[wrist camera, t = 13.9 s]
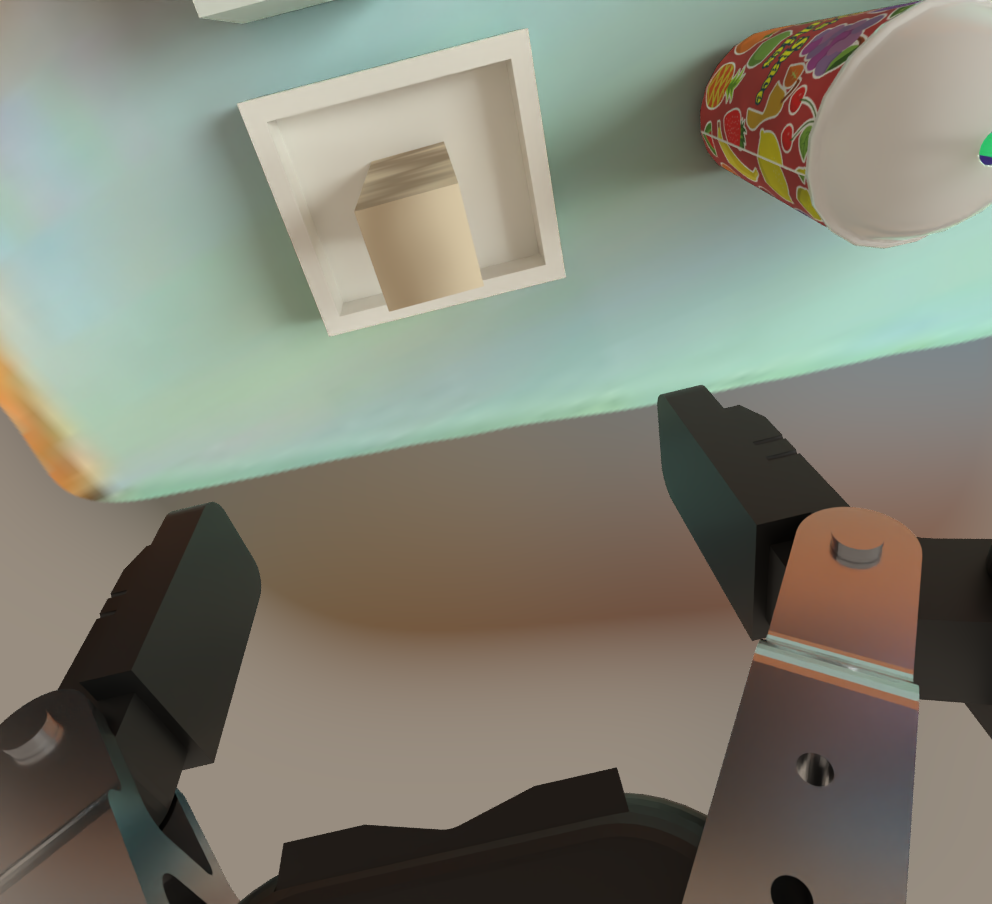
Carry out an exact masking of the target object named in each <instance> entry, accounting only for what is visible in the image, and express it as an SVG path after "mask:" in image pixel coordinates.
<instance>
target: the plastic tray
mask: <svg viewBox="0 0 992 904" xmlns="http://www.w3.org/2000/svg"><path fill="white" fill-rule="evenodd" d="M237 105H238V108H239V110H240V113H241V115H242V118H243V120H244V123H245V126H246V128H247V131H248V133H249V136H250V138H251V141H252V143H253V146H254V148H255V151H256V153H257V156H258V158H259V161H260V163H261V166H262V168H263V171H264V173H265V176H266V178H267V181H268V184H269V186H270V189H271V191H272V194H273V196H274V199H275V201H276V204H277V206H278V209H279V211H280V214H281V216H282V219H283V221H284V224H285V226H286V229H287V231H288V234H289V236H290V239H291V241H292V244H293V247H294V249H295V252H296V254H297V257H298V259H299V262H300V264H301V267H302V269H303V272H304V274H305V277H306V279H307V282H308V284H309V287H310V289H311V292H312V294H313V297H314V299H315V302H316V305H317V307H318V310H319V312H320V315H321V317H322V320H323V322H324V325H325V327H326V330H327V332H328V335H329V337H330V336H334V335H338V334H342V333H346V332H350V331H354V330H358V329H362V328H366V327H370V326H374V325H378V324H382V323H386V322H390V321H394V320H398V319H402V318H406V317H410V316H414V315H418V314H422V313H426V312H430V311H434V310H438V309H442V308H446V307H450V306H454V305H458V304H462V303H466V302H470V301H474V300H478V299H482V298H486V297H490V296H494V295H498V294H502V293H506V292H510V291H514V290H518V289H522V288H526V287H530V286H534V285H538V284H542V283H546V282H550V281H554V280H558V279H562V278H566V276H565V269H564V262H563V256H562V249H561V243H560V236H559V230H558V223H557V216H556V210H555V203H554V197H553V190H552V183H551V177H550V170H549V164H548V157H547V151H546V144H545V137H544V131H543V124H542V118H541V111H540V104H539V98H538V91H537V85H536V78H535V71H534V65H533V58H532V52H531V45H530V39H529V32H528V28H526V29H519V30H515V31H511V32H508V33H504V34H500V35H496V36H492V37H488V38H484V39H481V40H477V41H473V42H469V43H465V44H461V45H458V46H454V47H450V48H446V49H442V50H438V51H434V52H431V53H427V54H423V55H419V56H415V57H411V58H408V59H404V60H400V61H396V62H392V63H388V64H384V65H381V66H377V67H373V68H369V69H365V70H361V71H357V72H354V73H350V74H346V75H342V76H338V77H334V78H331V79H327V80H323V81H319V82H315V83H311V84H307V85H304V86H300V87H296V88H292V89H288V90H284V91H281V92H277V93H273V94H269V95H265V96H261V97H257V98H254V99H250V100H247V101H244V102H241V103H238V104H237ZM440 142H444V143H445V146H446V149H447V152H448V155H449V158H450V161H451V164H452V166H453V169H454V172H455V175H456V178H457V181H458V184H459V188H460V192H461V196H462V200H463V204H464V208H465V212H466V216H467V220H468V224H469V228H470V232H471V236H472V240H473V244H474V248H475V252H476V256H477V260H478V264H479V268H480V272H481V276H482V280H483V284H484V286H483V287H479V288H475V289H472V290H468V291H464V292H461V293H457V294H453V295H450V296H446V297H442V298H438V299H435V300H431V301H427V302H424V303H420V304H416V305H413V306H409V307H405V308H401V309H398V310H394V311H390V312H389V310H388V307H387V305H386V302H385V299H384V296H383V293H382V290H381V287H380V285H379V282H378V279H377V276H376V273H375V270H374V267H373V265H372V262H371V259H370V256H369V253H368V250H367V247H366V245H365V242H364V239H363V236H362V233H361V230H360V227H359V225H358V222H357V219H356V216H355V213H354V211H355V208H356V205H357V202H358V199H359V196H360V193H361V190H362V187H363V184H364V181H365V179H366V176H367V173H368V170H369V167H370V164H371V162H372V161H375V160H379V159H383V158H386V157H390V156H393V155H397V154H400V153H404V152H408V151H411V150H415V149H418V148H422V147H426V146H429V145H433V144H436V143H440Z"/></svg>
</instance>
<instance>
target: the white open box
mask: <svg viewBox="0 0 992 904" xmlns="http://www.w3.org/2000/svg"><path fill="white" fill-rule="evenodd" d="M192 1H193V3H194V6H195V8H196V11H197V13H198V16H199V18H203V19H211V20H218V21H226V22H233V23H240V24H246V23H249V22H253V21H257V20H261V19H265V18H268V17H272V16H276V15H280V14H284V13H287V12H291V11H295V10H299V9H303V8H306V7H310V6H314V5H318V4H322V3H325V2H329V1H333V0H192Z"/></svg>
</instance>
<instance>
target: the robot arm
mask: <svg viewBox="0 0 992 904" xmlns="http://www.w3.org/2000/svg"><path fill="white" fill-rule="evenodd" d="M657 407H658V420H659V421H658V422H659V436H660V449H661V464H662V471H663V476H664V480H665V484H666V487H667V490H668V493H669V495H670V497H671V499H672V501H673V503H674V505H675V506H676V508H677V510H678V512H679V513H680V515H681V517H682V519H683V521H684V522H685V524H686V526H687V528H688V529H689V531H690V533H691V535H692V536H693V538H694V540H695V542H696V543H697V545H698V547H699V549H700V550H701V552H702V554H703V556H704V557H705V559H706V561H707V563H708V564H709V566H710V568H711V570H712V571H713V573H714V575H715V577H716V579H717V580H718V582H719V584H720V586H721V587H722V589H723V591H724V593H725V594H726V596H727V598H728V600H729V601H730V603H731V605H732V607H733V608H734V610H735V612H736V614H737V615H738V617H739V619H740V621H741V622H742V624H743V626H744V628H745V629H746V631H747V633H748V635H749V636H750V638H751V640H752V641H754V640H757V639H761V640H760V641H759V643H758V645H757V648H756V651H755V653H754V657H753V660H752V663H751V667H750V670H749V674H748V677H747V681H746V684H745V688H744V691H743V695H742V698H741V702H740V705H739V708H738V712H737V715H736V719H735V722H734V726H733V729H732V732H731V736H730V740H729V743H728V746H727V750H726V753H725V757H724V760H723V764H722V767H721V770H720V774H719V777H718V781H717V784H716V788H715V791H714V795H713V798H712V802H711V805H710V808H709V812H708V815H705V814H703V813H701V812H699V811H697V810H694V809H692V808H690V807H688V806H686V805H683V804H680V803H677V802H674V801H670V800H668V799H665V798H660V797H654V796H649V795H644V794H634V793H624V791H623V788H622V784H621V780H620V777H619V773H618V770H617V768H612V769H608V770H603V771H599V772H595V773H590V774H586V775H582V776H577V777H573V778H568V779H564V780H560V781H556V782H551V783H546V784H542V785H537V786H534V787H532V788H530V789H528V790H526V791H524V792H522V793H520V794H519V795H517V796H515V797H513V798H511V799H509V800H507V801H505V802H503V803H501V804H499V805H498V806H496V807H494V808H492V809H490V810H488V811H486V812H484V813H482V814H481V815H479V816H477V817H475V818H473V819H471V820H469V821H467V822H465V823H463V824H462V825H460V826H457V827H455V828H452V829H447V830H438V829H421V828H407V827H391V826H390V827H389V826H376V825H362V826H357V827H353V828H348V829H344V830H340V831H335V832H331V833H326V834H322V835H317V836H314V837H309V838H305V839H300V840H296V841H291V842H287V843H284V844H283V850H282V857H281V863H280V869H279V875H277V876H276V877H274V878H272V879H270V880H269V881H267V882H266V883H264V884H263V885H262V886H260V887H258V888H257V889H255V890H254V891H252V892H251V893H250V894H249V895H247V896H246V897H245V898H244V899H243V900H241V901H240V900H239V899H238V897H237V896H236V894H235V893H234V891H233V890H232V888H231V887H230V885H229V883H228V881H227V880H226V877H225V875H224V873H223V872H222V869H221V867H220V865H219V863H218V861H217V859H216V857H215V855H214V853H213V852H212V850H211V847H210V845H209V843H208V841H207V839H206V838H205V836H204V834H203V832H202V829H201V827H200V826H199V824H198V822H197V820H196V818H195V816H194V814H193V812H192V810H191V808H190V806H189V804H188V802H187V800H186V798H185V796H184V795H183V793H181V792H180V791H179V789H178V788H177V784H178V781H179V778H180V775H181V772H182V770H185V769H190V768H194V767H198V766H203V765H207V764H211V763H214V760H215V756H216V753H217V749H218V746H219V742H220V738H221V735H222V731H223V728H224V724H225V720H226V717H227V713H228V709H229V706H230V703H231V699H232V695H233V692H234V688H235V684H236V681H237V677H238V674H239V670H240V666H241V663H242V659H243V656H244V652H245V649H246V645H247V641H248V638H249V634H250V631H251V627H252V623H253V620H254V616H255V612H256V609H257V605H258V602H259V598H260V594H261V579H260V574H259V570H258V567H257V565H256V563H255V561H254V559H253V557H252V555H251V554H250V552H249V551H248V549H247V547H246V545H245V544H244V542H243V541H242V539H241V537H240V536H239V534H238V532H237V531H236V529H235V527H234V526H233V524H232V522H231V521H230V519H229V517H228V516H227V514H226V512H225V511H224V509H223V508H222V507H221V506H220V505H219V504H217V503H215V502H209V503H206V504H201V505H197V506H193V507H189V508H185V509H180V510H176V511H172V512H170V513H169V514H168V515H167V516H166V517H165V519H164V521H163V523H162V525H161V527H160V528H159V530H158V532H157V534H156V536H155V538H154V540H153V542H152V544H151V545H149V546H146V547H145V548H144V549H143V551H142V552H141V553H140V554H139V555H138V556H137V557H136V558H135V559H134V560H133V561H132V562H131V563H130V564H129V565H128V566H127V567H126V568H125V569H124V570H123V572H122V574H121V576H120V578H119V579H118V581H117V583H116V585H115V587H114V589H113V591H112V592H111V598H109V599H108V600H107V601H106V603H105V605H104V607H103V609H102V610H101V613H100V618H99V619H96V621H95V623H94V625H93V627H92V629H91V630H90V632H89V634H88V636H87V638H86V639H85V641H84V643H83V645H82V647H81V648H80V650H79V652H78V654H77V656H76V657H75V659H74V661H73V663H72V665H71V667H70V668H69V670H68V672H67V674H66V676H65V677H64V679H63V681H62V683H61V685H60V687H59V688H58V690H56V691H52V692H49V693H47V694H44V695H41V696H39V697H38V698H35V699H34V700H32V701H30V702H28V703H27V704H25V705H24V706H22V707H21V708H20V709H18V710H17V711H15V712H14V713H13V714H11V715H10V716H9V717H8V718H7V719H5V720H4V722H2V723H1V724H0V904H906V897H907V896H906V895H907V881H908V865H909V849H910V836H911V821H912V805H913V790H914V775H915V760H916V744H917V730H918V714H919V699H922V700H936V701H948V702H962V703H965V704H966V706H967V707H968V708H969V710H970V711H971V712H972V714H973V715H974V716H975V718H976V719H977V720H978V722H979V723H980V724H981V725H982V727H983V728H984V729H985V730H986V732H987V733H988V735H989V736H990V737H991V739H992V539H931V538H919V537H916V536H915V535H914V534H913V533H912V532H911V531H910V530H909V529H908V528H907V527H906V526H905V525H903V524H902V523H901V522H899V521H897V520H895V519H894V518H892V517H889V516H887V515H885V514H882V513H879V512H876V511H873V510H869V509H864V508H856V507H850V506H849V505H848V504H847V503H846V502H845V501H844V500H843V499H842V498H841V496H839V494H838V493H837V492H836V491H835V490H834V489H833V488H832V487H831V486H830V485H829V484H828V483H827V482H826V481H825V480H824V479H823V478H822V476H821V475H820V474H819V473H818V472H817V471H816V470H815V469H814V468H813V467H812V466H811V465H810V464H809V463H808V462H807V461H806V460H805V458H804V457H803V456H802V455H801V454H797V452H796V449H795V448H794V447H793V446H792V445H791V444H790V443H789V442H788V441H787V440H786V439H783V437H782V434H781V433H780V432H779V431H778V430H777V429H776V428H775V427H774V426H773V425H772V424H771V423H770V422H769V421H768V419H767V418H766V417H764V416H762V415H760V414H757V413H755V412H753V411H751V410H749V409H747V408H745V407H743V406H740V405H737V406H733V407H728V408H723V407H722V406H721V405H720V403H719V402H718V401H717V400H716V399H715V398H714V397H713V395H712V394H711V393H710V392H709V391H708V389H707V388H706V387H705V386H703V385H699V386H694V387H690V388H686V389H682V390H678V391H674V392H670V393H665V394H661V395H659V397H658V403H657ZM762 638H766V640H763V639H762Z"/></svg>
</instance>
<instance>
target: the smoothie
mask: <svg viewBox="0 0 992 904" xmlns="http://www.w3.org/2000/svg"><path fill="white" fill-rule="evenodd" d="M700 122H701V135H702V138H703V141H704V144H705V146H706V149H707V152H708V153H709V154H710V155H711V157H712V158H713V159H714V160H715V161H716V163H717V164H718V165H719V166H721V167H723V168H725V169H726V170H728V171H730V172H732V173H733V174H735V175H737V176H739V177H740V178H742V179H744V180H746V181H747V182H749V183H751V184H753V185H754V186H756V187H758V188H759V189H761V190H763V191H765V192H766V193H768V194H770V195H772V196H773V197H775V198H777V199H779V200H780V201H782V202H784V203H785V204H787V205H789V206H791V207H792V208H794V209H796V210H798V211H799V212H801V213H803V214H805V215H806V216H808V217H810V218H811V219H813V220H815V221H817V222H818V223H820V224H822V225H824V226H826V227H827V228H828V229H829V230H830V231H831V232H833V233H835V234H836V235H838V236H840V237H842V238H843V239H845V240H847V241H848V242H850V243H852V244H853V245H856V246H865V247H874V248H883V249H884V248H889V247H893V246H898V245H903V244H907V243H912V242H916V241H918V240H920V239H922V238H924V237H926V236H928V235H930V234H934V233H938V232H943V231H946V230H948V229H950V228H951V227H953V226H955V225H957V224H959V223H961V222H963V221H965V220H967V219H969V218H971V217H973V216H975V215H976V214H978V213H980V212H982V211H983V210H985V209H986V208H987V207H988V206H990V205H991V204H992V0H923V1H917V2H912V3H907V4H901V5H896V6H891V7H885V8H880V9H875V10H870V11H864V12H859V13H854V14H848V15H843V16H838V17H832V18H827V19H822V20H816V21H811V22H806V23H801V24H795V25H790V26H785V27H779V28H773V29H770V30H766V31H762V32H758V33H755V34H753V35H751V36H749V37H748V38H746V39H745V40H743V41H742V42H740V43H739V44H737V45H736V46H734V47H733V48H732V49H731V50H730V52H729V53H728V54H727V55H726V56H725V57H724V58H723V60H722V61H721V62H720V63H719V64H718V65H717V67H716V69H715V71H714V73H713V75H712V77H711V78H710V80H709V82H708V84H707V86H706V89H705V93H704V97H703V101H702V105H701V110H700Z"/></svg>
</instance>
